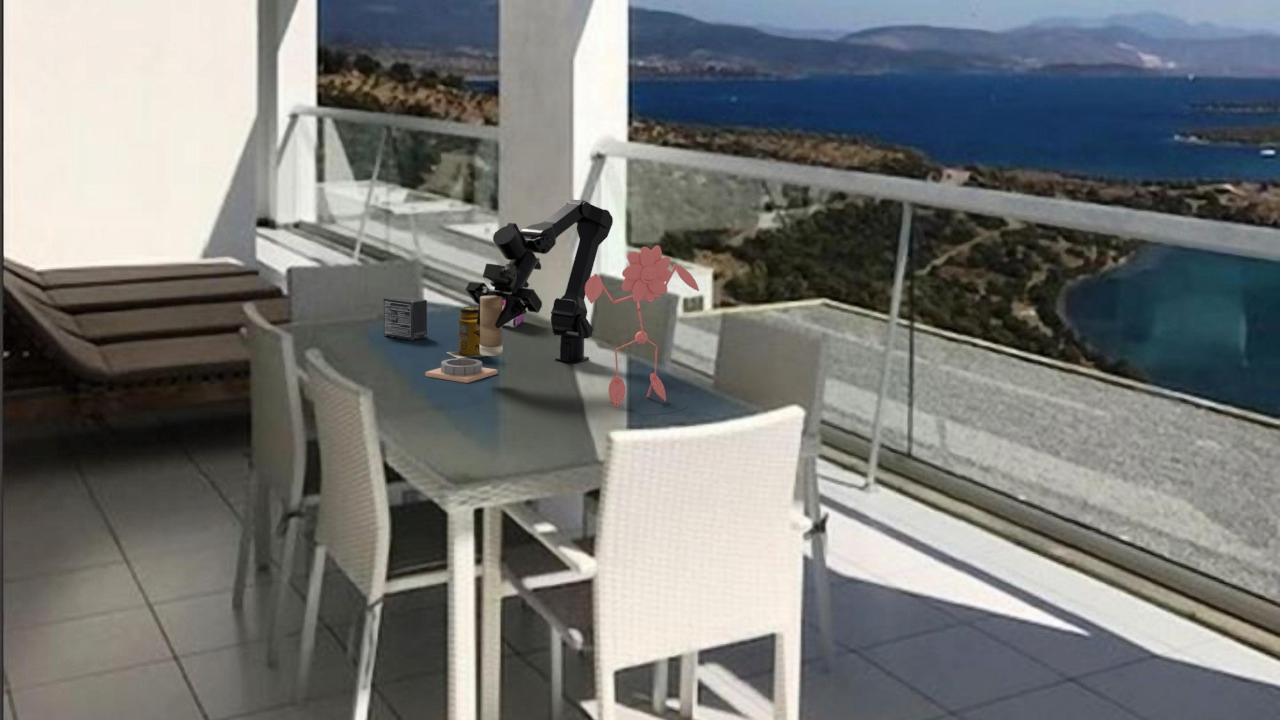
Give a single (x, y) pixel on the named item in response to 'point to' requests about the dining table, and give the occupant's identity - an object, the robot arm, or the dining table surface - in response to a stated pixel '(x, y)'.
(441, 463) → the dining table surface
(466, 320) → the condiment
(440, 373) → the collar
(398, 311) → the small box
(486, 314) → the brown cylinder
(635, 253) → the figurine
